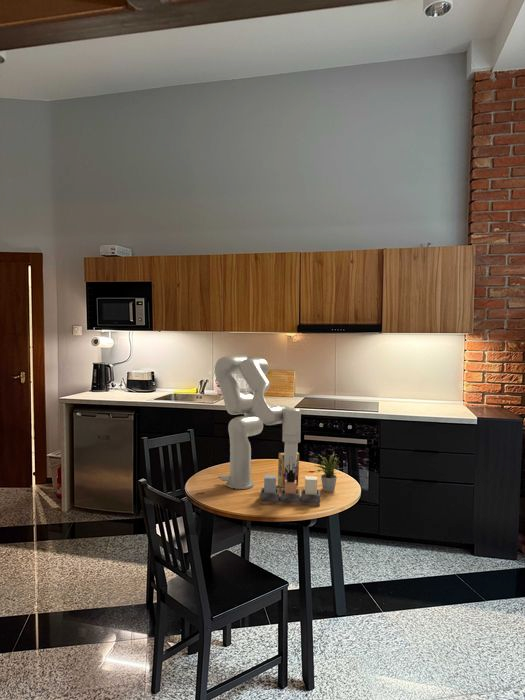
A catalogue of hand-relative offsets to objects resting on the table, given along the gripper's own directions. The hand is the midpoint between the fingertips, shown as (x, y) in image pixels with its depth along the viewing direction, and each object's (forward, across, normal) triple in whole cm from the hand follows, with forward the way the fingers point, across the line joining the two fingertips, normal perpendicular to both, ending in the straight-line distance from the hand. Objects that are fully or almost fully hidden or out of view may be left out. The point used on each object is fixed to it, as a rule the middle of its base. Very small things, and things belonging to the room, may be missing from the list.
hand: (290, 481), depth 209 cm
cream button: (+5, 0, +8) cm, 10 cm away
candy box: (+8, -21, -1) cm, 23 cm away
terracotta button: (+7, 0, 0) cm, 7 cm away
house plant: (+8, -18, +17) cm, 26 cm away
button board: (+8, 0, 0) cm, 8 cm away
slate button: (+5, 0, -9) cm, 10 cm away
